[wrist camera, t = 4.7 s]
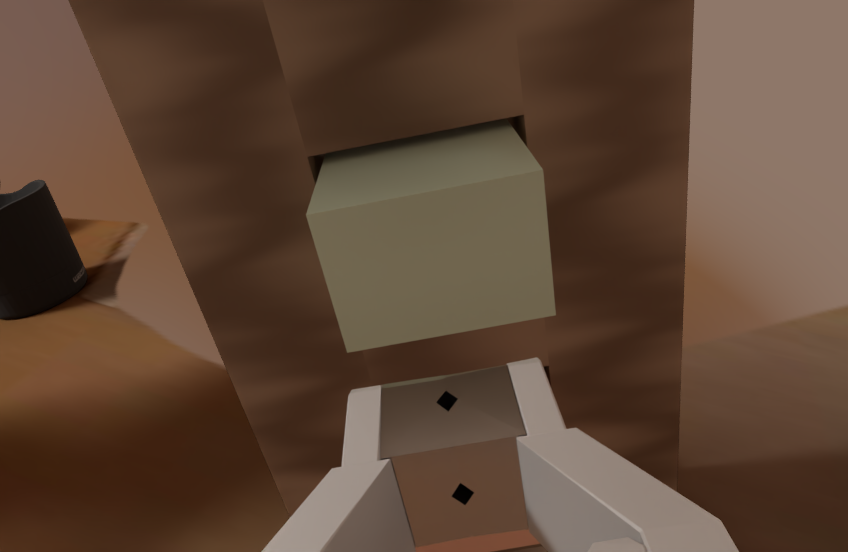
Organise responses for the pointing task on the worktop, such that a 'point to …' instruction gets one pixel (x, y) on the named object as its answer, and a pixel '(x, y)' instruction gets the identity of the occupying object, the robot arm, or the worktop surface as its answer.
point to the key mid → (433, 235)
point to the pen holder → (35, 254)
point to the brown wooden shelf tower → (399, 118)
